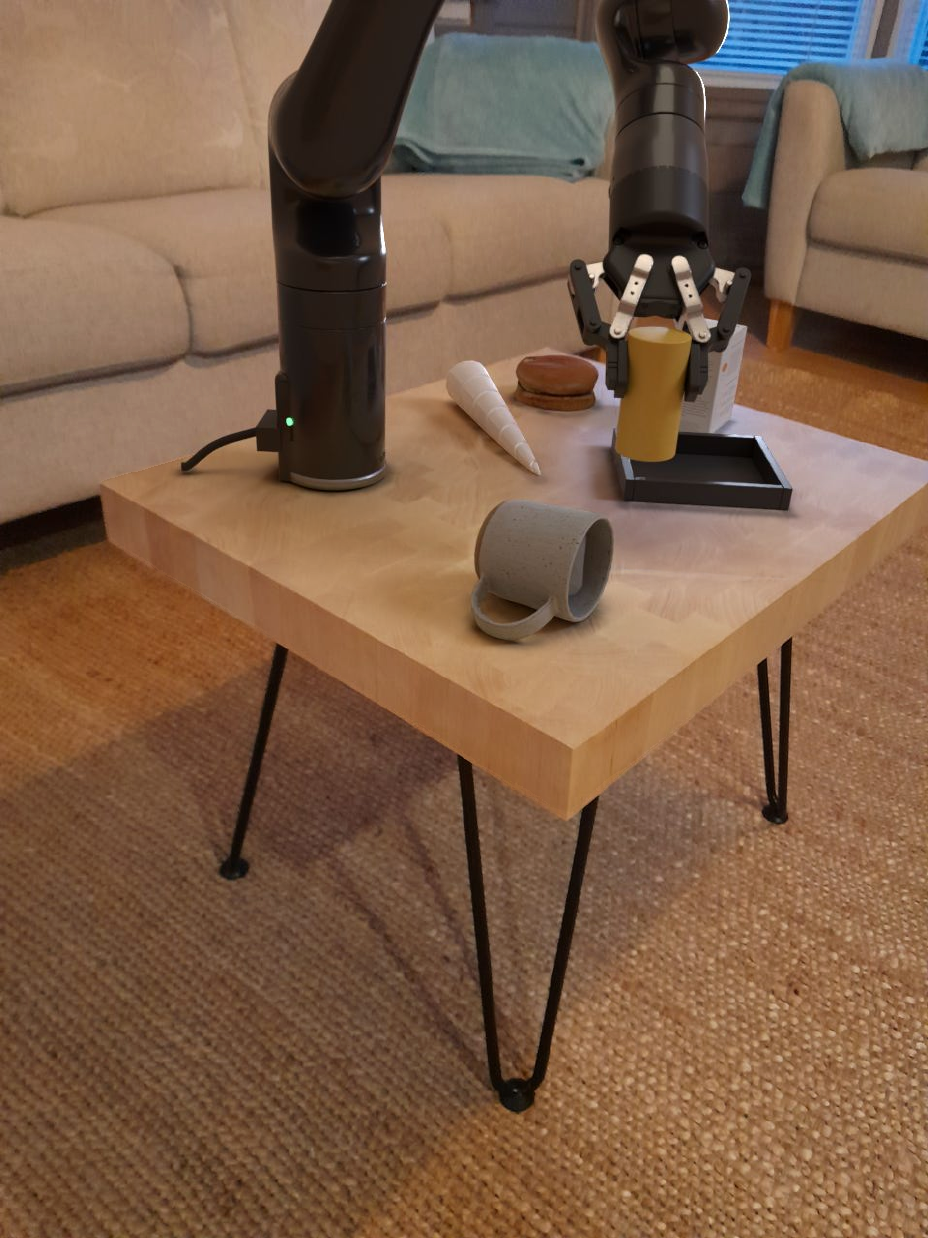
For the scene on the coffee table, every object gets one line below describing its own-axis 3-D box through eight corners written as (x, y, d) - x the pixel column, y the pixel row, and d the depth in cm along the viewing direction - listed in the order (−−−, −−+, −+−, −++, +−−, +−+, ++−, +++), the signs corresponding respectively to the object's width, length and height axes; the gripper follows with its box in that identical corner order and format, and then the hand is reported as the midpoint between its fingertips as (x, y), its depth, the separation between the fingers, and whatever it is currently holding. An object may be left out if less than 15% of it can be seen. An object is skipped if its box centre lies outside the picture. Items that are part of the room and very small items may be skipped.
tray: (622, 505, 92) (625, 479, 91) (610, 451, 104) (613, 427, 103) (787, 515, 92) (793, 488, 91) (756, 459, 104) (761, 435, 103)
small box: (683, 411, 116) (697, 315, 111) (731, 421, 114) (748, 324, 109) (656, 430, 110) (670, 330, 105) (707, 442, 108) (724, 340, 103)
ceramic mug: (513, 567, 81) (519, 474, 77) (610, 596, 77) (622, 501, 73) (441, 625, 73) (444, 525, 69) (545, 661, 69) (554, 558, 65)
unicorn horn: (500, 482, 96) (503, 432, 93) (443, 401, 116) (445, 358, 113) (549, 480, 97) (553, 430, 94) (485, 400, 117) (487, 357, 114)
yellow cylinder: (617, 460, 78) (631, 341, 74) (612, 439, 82) (625, 324, 78) (678, 463, 78) (696, 344, 74) (671, 442, 82) (687, 327, 78)
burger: (599, 417, 113) (603, 374, 111) (513, 412, 113) (516, 370, 111) (593, 390, 122) (597, 350, 120) (513, 385, 122) (516, 345, 120)
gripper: (570, 157, 77) (562, 365, 73) (764, 166, 77) (768, 375, 72) (561, 221, 84) (554, 413, 80) (739, 229, 84) (741, 423, 80)
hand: (656, 394), depth 76 cm, fingers closed on yellow cylinder, 4 cm apart
